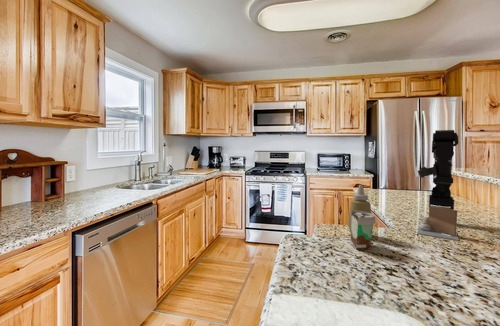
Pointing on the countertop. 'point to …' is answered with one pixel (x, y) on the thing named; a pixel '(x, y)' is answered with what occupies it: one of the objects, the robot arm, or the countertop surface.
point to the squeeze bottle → (359, 204)
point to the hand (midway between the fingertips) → (441, 199)
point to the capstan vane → (440, 220)
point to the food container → (361, 229)
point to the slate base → (437, 234)
